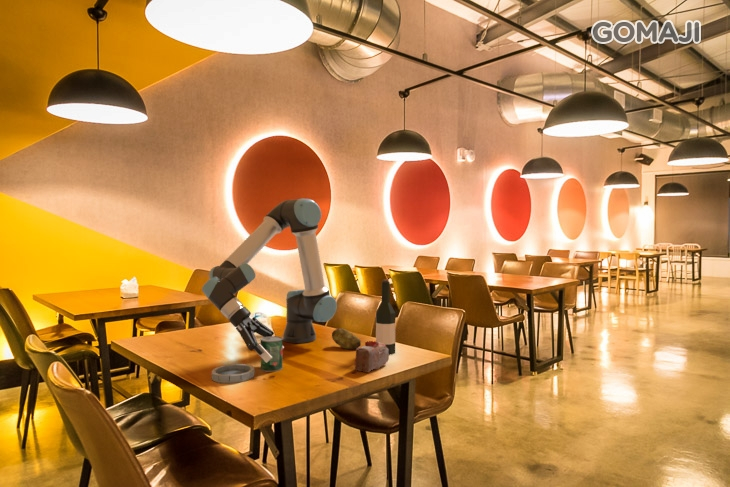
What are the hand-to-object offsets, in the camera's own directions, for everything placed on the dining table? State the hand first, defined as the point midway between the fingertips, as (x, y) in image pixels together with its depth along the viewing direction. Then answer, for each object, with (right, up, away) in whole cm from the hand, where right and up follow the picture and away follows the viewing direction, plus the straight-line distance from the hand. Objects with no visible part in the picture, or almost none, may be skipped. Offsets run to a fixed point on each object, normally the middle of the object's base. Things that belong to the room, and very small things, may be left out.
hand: (275, 355), depth 168 cm
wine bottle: (+41, -5, +24) cm, 47 cm away
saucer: (-13, -5, -9) cm, 17 cm away
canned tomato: (-2, -5, +1) cm, 6 cm away
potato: (+24, -5, +31) cm, 40 cm away
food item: (+35, -5, +2) cm, 35 cm away
